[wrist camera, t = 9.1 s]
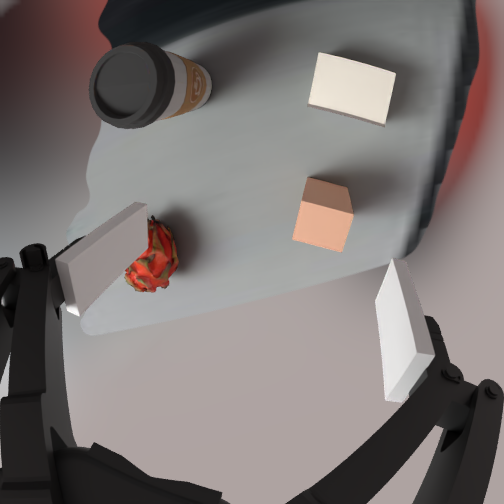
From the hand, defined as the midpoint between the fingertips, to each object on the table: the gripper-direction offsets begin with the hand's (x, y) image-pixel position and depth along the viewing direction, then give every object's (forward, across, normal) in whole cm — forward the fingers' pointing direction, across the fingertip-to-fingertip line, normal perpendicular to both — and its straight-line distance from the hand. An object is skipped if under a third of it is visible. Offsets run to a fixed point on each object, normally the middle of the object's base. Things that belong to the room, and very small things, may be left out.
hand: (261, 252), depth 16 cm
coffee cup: (+24, -15, +7) cm, 30 cm away
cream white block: (+24, +4, +9) cm, 26 cm away
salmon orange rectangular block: (+24, +4, -4) cm, 25 cm away
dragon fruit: (+24, -18, -16) cm, 34 cm away
